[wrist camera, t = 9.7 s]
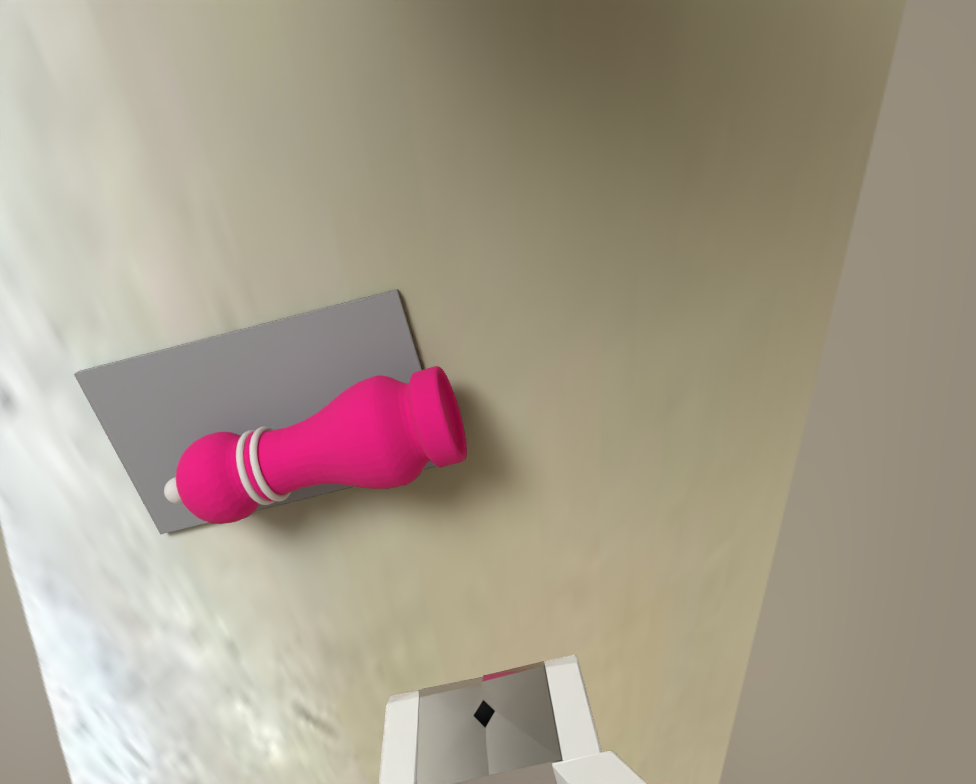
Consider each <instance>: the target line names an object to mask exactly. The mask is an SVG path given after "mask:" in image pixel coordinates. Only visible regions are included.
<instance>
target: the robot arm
mask: <svg viewBox="0 0 976 784" xmlns="http://www.w3.org/2000/svg"><path fill="white" fill-rule="evenodd" d="M379 784H647V783H646V782H645V781H644V780H643V779H642V778H641V777H640V776H639V775H638V774H637V773H636V772H635V771H634V770H633V769H632V768H630V767H629V766H628V765H627V764H626V763H625V762H624V761H623V760H622V759H621V758H620V757H619V756H618V755H617V754H616V753H614V752H613V751H612V750H611V751H606V752H602V750H601V746H600V742H599V738H598V734H597V730H596V727H595V723H594V719H593V715H592V711H591V707H590V703H589V700H588V696H587V692H586V688H585V684H584V680H583V676H582V673H581V669H580V665H579V661H578V658H577V656H576V655H575V654H574V655H570V656H566V657H561V658H557V659H553V660H548V661H545V664H544V661H542V662H538V663H534V664H530V665H526V666H521V667H517V668H513V669H509V670H505V671H501V672H496V673H492V674H488V675H484V676H483V677H480V678H475V679H469V680H464V681H459V682H454V683H449V684H444V685H439V686H434V687H429V688H424V689H421V690H416V691H411V692H407V693H402V694H397V695H392V696H390V698H389V701H388V703H387V706H386V714H385V725H384V735H383V746H382V756H381V767H380V777H379Z"/></svg>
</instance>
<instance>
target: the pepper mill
mask: <svg viewBox="0 0 976 784" xmlns="http://www.w3.org/2000/svg"><path fill="white" fill-rule="evenodd" d="M466 455H467V446H466V438H465V432H464V427H463V423H462V418H461V414H460V411H459V407H458V404H457V401H456V398H455V395H454V392H453V390H452V387H451V385H450V382H449V380H448V378H447V376H446V374H445V373H444V371H443V369H441V368H440V367H438V366H435V367H431V368H428V369H424V370H421V371H418V372H414V373H413V374H412V376H411V378H410V383H409V384H406V383H403V382H400V381H398V380H396V379H394V378H391V377H388V376H383V375H378V376H373V377H371V378H368V379H365V380H362V381H360V382H358V383H356V384H354V385H353V386H351V387H350V388H348V389H346V390H345V391H343V392H342V393H341V394H340V395H338V396H337V397H336V398H335V399H334V400H332V401H331V402H330V403H329V404H328V405H326V406H325V407H324V408H323V409H321V410H320V411H319V412H317V413H316V414H314V415H312V416H311V417H309V418H307V419H305V420H304V421H302V422H299V423H297V424H294V425H291V426H289V427H286V428H281V429H277V430H273V429H272V428H270V427H266V426H263V427H260V428H258V429H257V430H249V431H246V432H245V433H243V434H242V436H240V435H238V434H235V433H232V432H216V433H212V434H209V435H206V436H203V437H202V438H200V439H198V440H196V441H194V442H193V443H192V444H191V445H190V446H189V447H188V448H187V449H186V450H185V451H184V453H183V454H182V456H181V458H180V460H179V463H178V466H177V470H176V477H175V478H172V479H171V480H169V481H168V482H167V484H166V485H165V488H164V494H165V497H166V498H167V499H168V500H169V501H170V502H172V503H176V504H177V503H183V504H184V505H185V507H186V508H187V509H188V510H189V511H190V512H191V513H192V514H193V515H195V516H196V517H197V518H199V519H201V520H203V521H206V522H210V523H217V524H224V523H231V522H236V521H238V520H241V519H244V518H246V517H248V516H249V515H251V514H252V513H253V512H254V511H255V510H256V508H257V507H258V506H259V504H262V505H269V504H271V503H273V502H274V501H283V500H285V499H286V498H287V497H288V496H289V495H290V493H291V492H292V491H294V490H297V489H300V488H303V487H308V486H314V485H320V484H341V485H350V486H357V487H364V488H371V489H388V488H393V487H398V486H403V485H407V484H409V483H411V482H412V481H413V480H415V479H416V478H417V477H418V476H419V474H420V473H421V471H422V470H423V468H424V467H425V465H426V464H427V463H428V462H429V461H430V460H431V461H432V462H433V463H434V465H436V466H438V467H444V466H447V465H451V464H455V463H459V462H462V461H464V460H465V459H466Z"/></svg>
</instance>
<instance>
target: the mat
mask: <svg viewBox="0 0 976 784" xmlns="http://www.w3.org/2000/svg"><path fill="white" fill-rule="evenodd" d="M421 370H422V367H421V364H420V361H419V357H418V354H417V351H416V348H415V344H414V341H413V338H412V334H411V331H410V328H409V325H408V321H407V318H406V315H405V311H404V308H403V305H402V302H401V298H400V295H399V292H398V289H396V290H392V291H389V292H385V293H381V294H377V295H373V296H369V297H365V298H361V299H357V300H353V301H350V302H346V303H342V304H338V305H334V306H330V307H326V308H322V309H318V310H315V311H311V312H307V313H303V314H299V315H295V316H291V317H287V318H283V319H280V320H276V321H272V322H268V323H264V324H260V325H256V326H252V327H248V328H245V329H241V330H237V331H233V332H229V333H225V334H221V335H217V336H213V337H210V338H206V339H202V340H198V341H194V342H190V343H186V344H182V345H178V346H175V347H171V348H167V349H163V350H159V351H155V352H151V353H147V354H143V355H140V356H136V357H132V358H128V359H124V360H120V361H116V362H112V363H108V364H105V365H101V366H97V367H93V368H89V369H85V370H81V371H78V372H77V373H75V374H74V375H75V377H76V379H77V381H78V383H79V384H80V386H81V388H82V390H83V392H84V394H85V396H86V397H87V399H88V401H89V403H90V405H91V407H92V408H93V410H94V412H95V414H96V416H97V418H98V420H99V421H100V423H101V425H102V427H103V429H104V431H105V433H106V434H107V436H108V438H109V440H110V442H111V444H112V446H113V447H114V449H115V451H116V453H117V455H118V457H119V458H120V460H121V462H122V464H123V466H124V468H125V470H126V471H127V473H128V475H129V477H130V479H131V481H132V483H133V484H134V486H135V488H136V490H137V492H138V494H139V496H140V497H141V499H142V501H143V503H144V505H145V507H146V508H147V510H148V512H149V514H150V516H151V518H152V520H153V521H154V523H155V525H156V527H157V529H158V531H159V533H160V534H164V533H168V532H172V531H176V530H180V529H184V528H188V527H192V526H196V525H201V524H205V523H209V522H206V521H203V520H201V519H199V518H197V517H196V516H195V515H193V514H192V513H191V512H190V511H189V510H188V509H187V508H186V507H185V505H184V504H183V503H177V504H176V503H172V502H170V501H169V500H168V499H167V498H166V497H165V494H164V488H165V485H166V484H167V482H168V481H169V480H171V479H172V478H175V477H176V470H177V466H178V463H179V460H180V458H181V456H182V454H183V453H184V451H185V450H186V449H187V448H188V447H189V446H190V445H191V444H192V443H193V442H194V441H196V440H198V439H200V438H202V437H203V436H206V435H209V434H212V433H216V432H232V433H235V434H238V435H240V436H242V434H243V433H245V432H246V431H249V430H257V429H258V428H260V427H263V426H266V427H270V428H272V429H273V430H277V429H281V428H286V427H289V426H291V425H294V424H297V423H299V422H302V421H304V420H305V419H307V418H309V417H311V416H312V415H314V414H316V413H317V412H319V411H320V410H321V409H323V408H324V407H325V406H326V405H328V404H329V403H330V402H331V401H332V400H334V399H335V398H336V397H337V396H338V395H340V394H341V393H342V392H343V391H345V390H346V389H348V388H350V387H351V386H353V385H354V384H356V383H358V382H360V381H362V380H365V379H368V378H371V377H373V376H378V375H383V376H388V377H391V378H394V379H396V380H398V381H400V382H403V383H406V384H409V383H410V378H411V376H412V374H413V373H414V372H418V371H421ZM435 466H436V465H434V463H433V462H432V461H431V460H430V461H429V462H428V463H427V464H426V465H425V467H424V468H423V469H427V468H431V467H435ZM350 487H354V486H350V485H341V484H320V485H314V486H308V487H303V488H300V489H297V490H294V491H292V492H291V493H290V495H289V496H288V497H287V498H286V499H285V500H283V501H274V502H273V503H271V504H269V505H262V504H259V506H258V507H257V508H256V510H255V511H257V510H261V509H265V508H269V507H273V506H277V505H281V504H286V503H290V502H294V501H298V500H302V499H306V498H310V497H314V496H318V495H322V494H326V493H330V492H334V491H338V490H342V489H346V488H350Z"/></svg>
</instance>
